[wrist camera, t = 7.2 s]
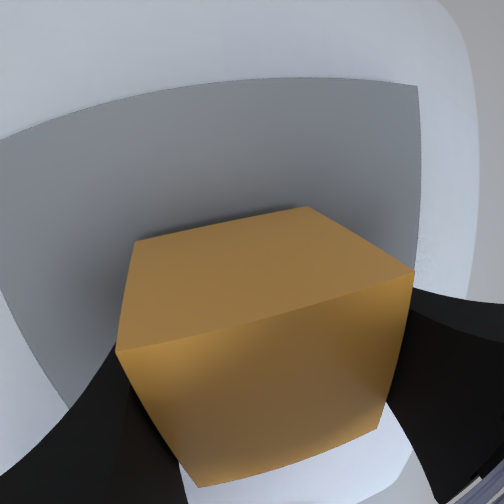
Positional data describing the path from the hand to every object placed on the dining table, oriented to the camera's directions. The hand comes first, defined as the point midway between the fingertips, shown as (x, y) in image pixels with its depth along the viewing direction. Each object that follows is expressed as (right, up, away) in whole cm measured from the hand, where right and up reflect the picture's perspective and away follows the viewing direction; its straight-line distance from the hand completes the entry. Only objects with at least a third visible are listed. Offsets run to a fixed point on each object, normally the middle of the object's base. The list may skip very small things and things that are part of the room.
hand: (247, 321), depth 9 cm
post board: (-1, +1, +3) cm, 4 cm away
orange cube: (0, 0, +1) cm, 1 cm away
